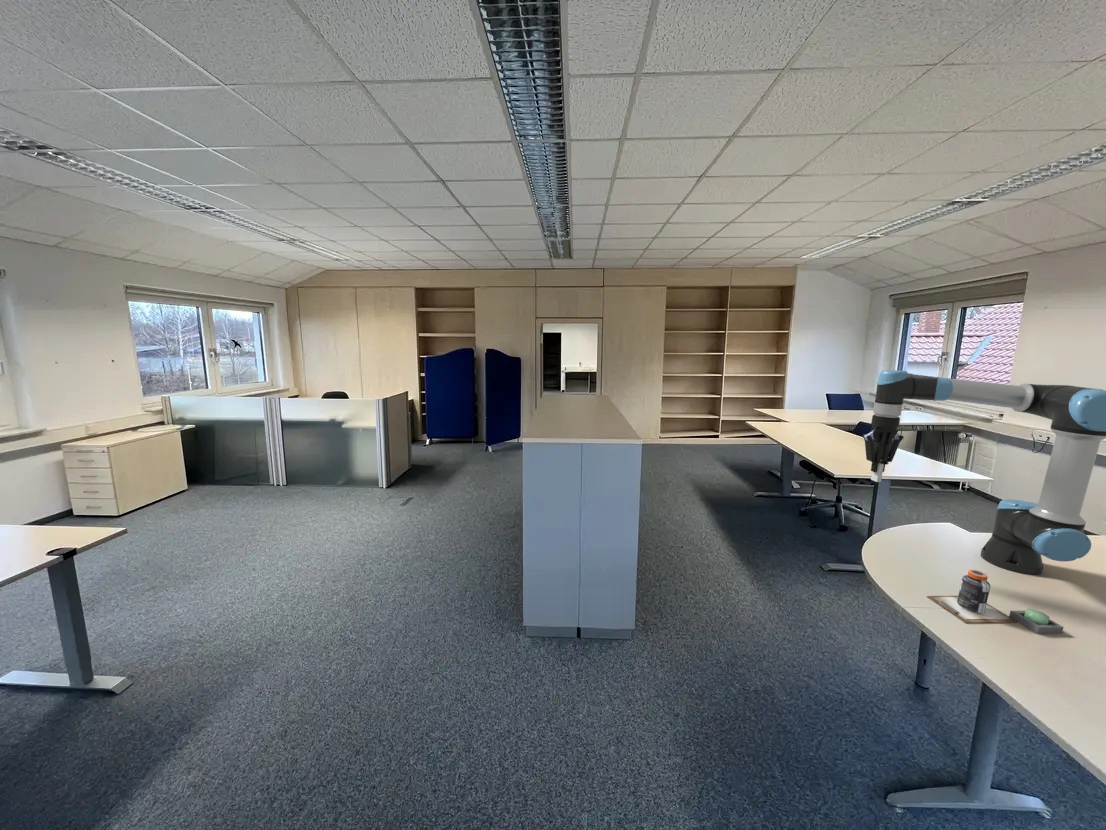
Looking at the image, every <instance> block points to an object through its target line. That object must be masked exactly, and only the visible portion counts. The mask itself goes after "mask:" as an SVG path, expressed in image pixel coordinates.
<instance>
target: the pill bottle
mask: <svg viewBox="0 0 1106 830" xmlns="http://www.w3.org/2000/svg"><path fill="white" fill-rule="evenodd" d="M988 578H989V576H988V574H986V573H985V572H983V571H980V570H977V569H968V571H967V574H965V575H963V576H962V578H961V581H960V586H959V590H958V594H957V596H958V599H957V603H958V605H960V606H961V607H962V608H964V609H966V610H969V611H971V612H975V613H983V612H985V608H986V604H988V599H989V594H990V590H991V584H990V583H989V581H988Z"/></svg>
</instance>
